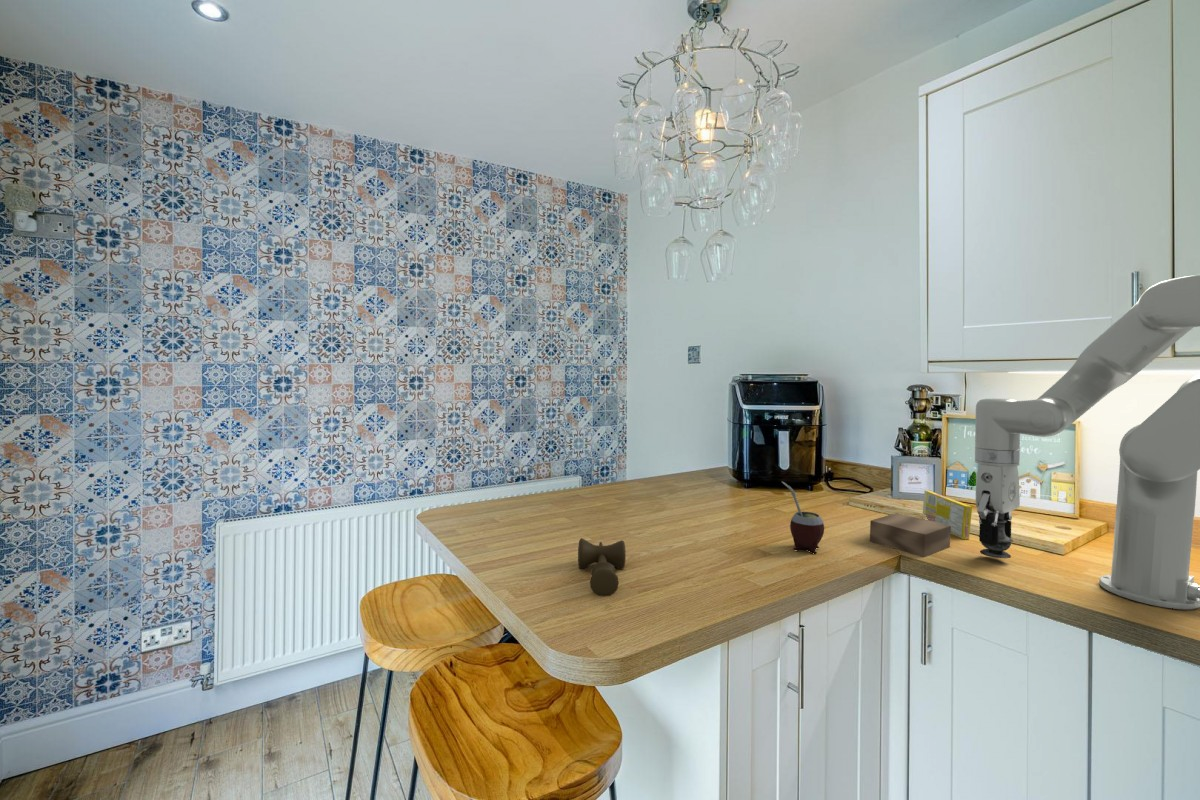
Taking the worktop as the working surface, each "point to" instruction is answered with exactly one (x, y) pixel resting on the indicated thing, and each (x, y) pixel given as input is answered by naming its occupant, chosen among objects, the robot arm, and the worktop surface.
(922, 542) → the walnut block
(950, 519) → the candy box
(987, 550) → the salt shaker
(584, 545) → the kendama
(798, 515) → the mate gourd
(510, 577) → the worktop surface
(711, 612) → the worktop surface
